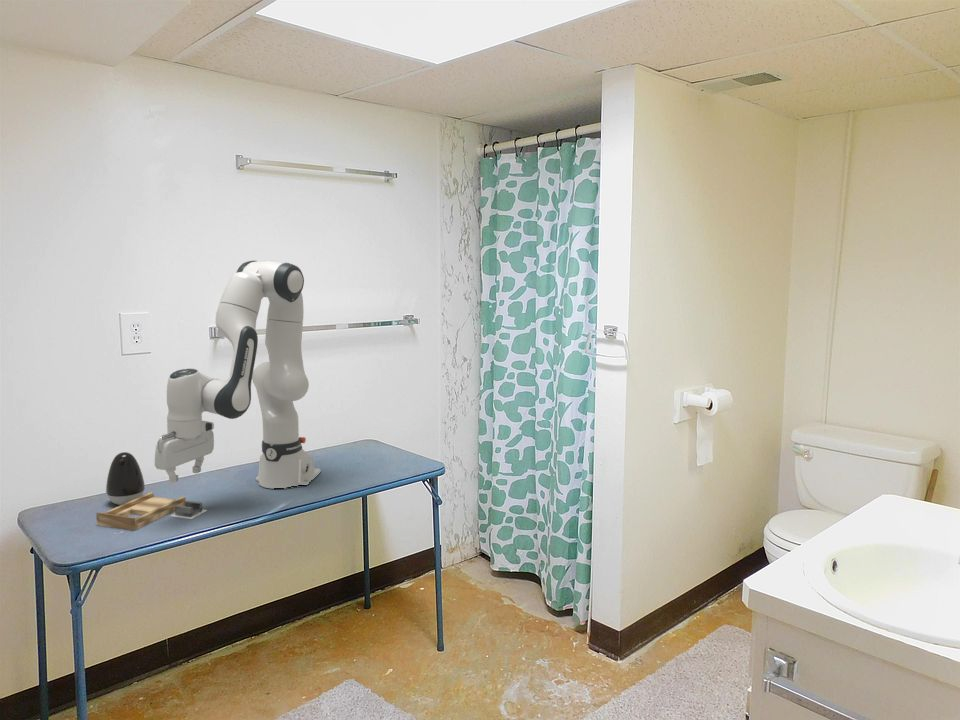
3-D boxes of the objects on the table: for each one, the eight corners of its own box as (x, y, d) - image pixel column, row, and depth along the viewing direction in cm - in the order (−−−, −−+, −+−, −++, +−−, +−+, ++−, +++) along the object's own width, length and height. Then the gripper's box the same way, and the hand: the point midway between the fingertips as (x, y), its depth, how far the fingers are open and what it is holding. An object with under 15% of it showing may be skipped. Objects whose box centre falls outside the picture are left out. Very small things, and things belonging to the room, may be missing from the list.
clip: (187, 508, 200) (186, 500, 199) (202, 511, 198) (202, 502, 198) (175, 515, 195) (174, 506, 194) (190, 517, 193) (190, 508, 193)
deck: (151, 504, 206) (150, 489, 205) (186, 509, 203) (185, 494, 202) (97, 529, 187) (96, 513, 186) (134, 534, 184) (133, 518, 183)
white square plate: (186, 511, 201) (186, 507, 201) (207, 514, 199) (207, 510, 199) (169, 520, 194) (169, 515, 194) (191, 523, 192) (191, 518, 192)
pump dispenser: (103, 509, 201) (100, 458, 199) (111, 497, 211) (108, 448, 208) (142, 507, 204) (139, 456, 201) (148, 495, 214) (145, 446, 211)
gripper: (168, 437, 182) (169, 489, 184) (217, 422, 201) (218, 468, 203) (147, 435, 184) (148, 486, 185) (199, 420, 203) (199, 466, 205)
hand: (185, 477), depth 194 cm, fingers open, 8 cm apart
